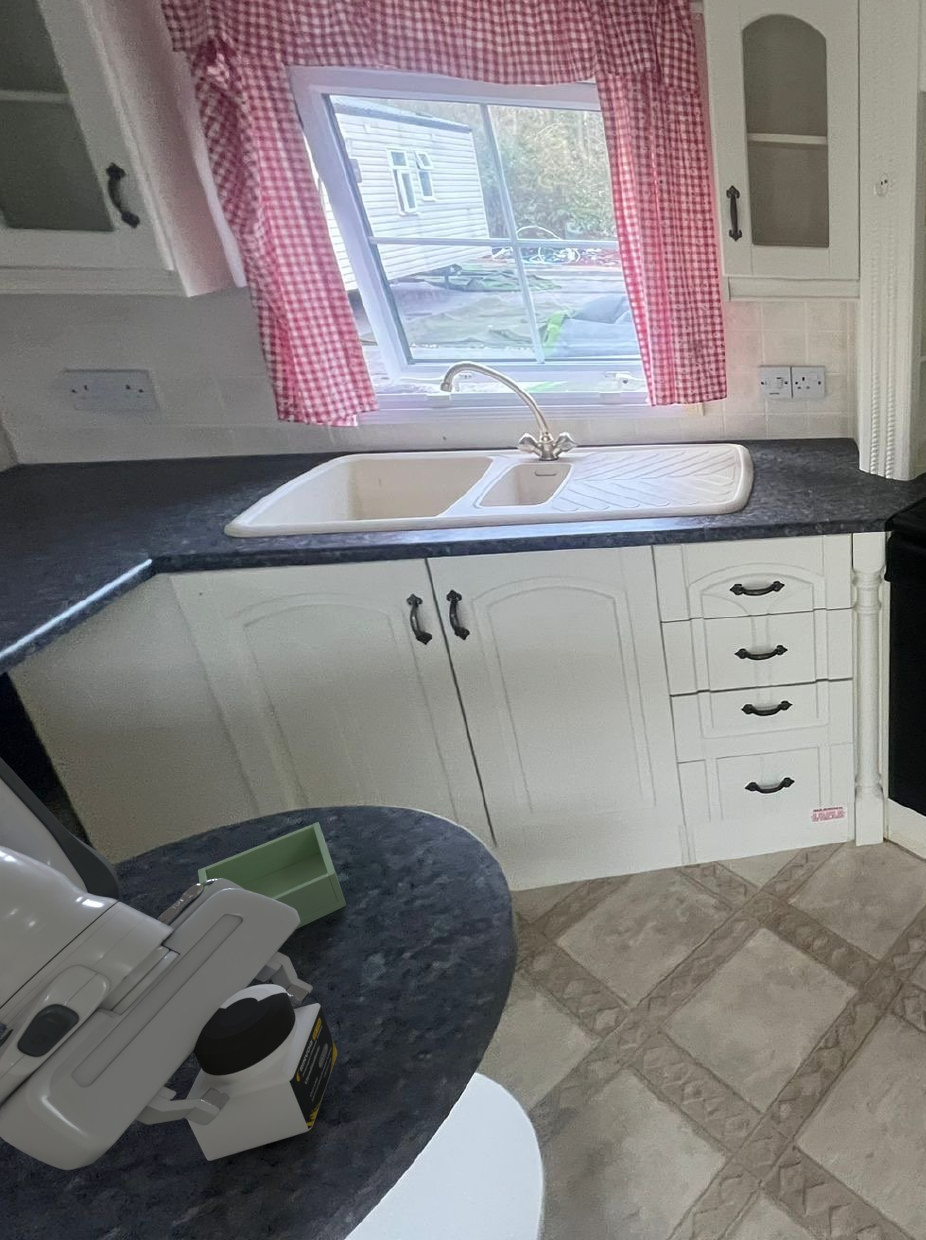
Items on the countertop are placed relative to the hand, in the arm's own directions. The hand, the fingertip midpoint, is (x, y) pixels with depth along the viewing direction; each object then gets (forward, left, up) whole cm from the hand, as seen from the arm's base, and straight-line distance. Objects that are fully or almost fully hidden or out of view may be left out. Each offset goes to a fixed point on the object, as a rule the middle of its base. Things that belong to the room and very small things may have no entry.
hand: (264, 1052), depth 66 cm
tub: (+2, +28, -8) cm, 29 cm away
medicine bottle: (-1, +1, -7) cm, 7 cm away
